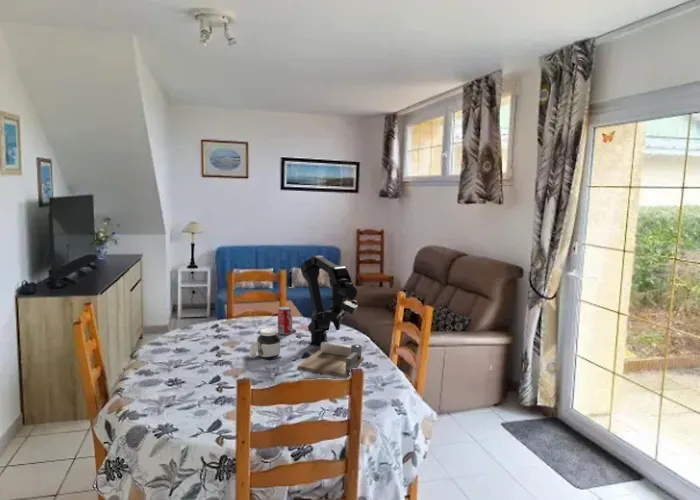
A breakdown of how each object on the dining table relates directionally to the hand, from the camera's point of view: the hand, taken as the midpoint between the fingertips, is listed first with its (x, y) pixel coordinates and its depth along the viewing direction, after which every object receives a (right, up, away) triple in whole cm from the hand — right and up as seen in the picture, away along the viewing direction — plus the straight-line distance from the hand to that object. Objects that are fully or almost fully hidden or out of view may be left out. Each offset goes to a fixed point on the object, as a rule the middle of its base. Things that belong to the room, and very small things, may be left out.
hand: (337, 329), depth 218 cm
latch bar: (+2, -10, -4) cm, 11 cm away
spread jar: (-32, -11, -4) cm, 34 cm away
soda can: (-27, -7, +30) cm, 41 cm away
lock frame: (-2, -12, -11) cm, 17 cm away
